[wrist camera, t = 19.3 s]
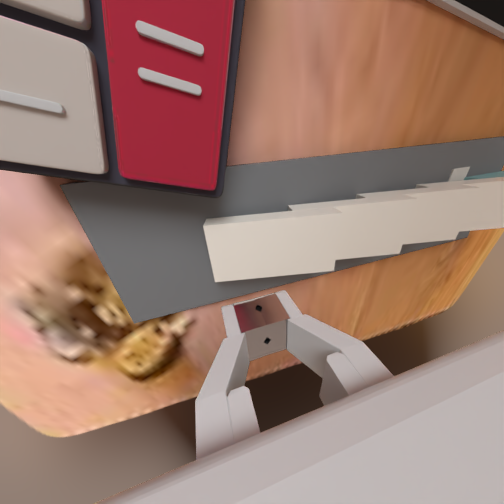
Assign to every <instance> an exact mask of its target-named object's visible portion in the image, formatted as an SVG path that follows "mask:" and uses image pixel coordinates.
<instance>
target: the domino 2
mask: <svg viewBox="0 0 504 504" xmlns="http://www.w3.org/2000/svg"><path fill="white" fill-rule="evenodd" d="M417 200H418V198H414V197H410V196H407V195H403V194H402V195H391V196H381V197H370V198H360V199H349V200H339V201H328V202H318V203H307V204H297V205H288V211H295V210H305V209H316V208H327V207H334V208H336V209H337V210H339V211H341V212H342V213H343V215H342V222H341V228H340V235H339V241H338V247H337V254H336V260H340V259H350V258H360V257H371V256H381V255H391V254H400V251H401V248H402V245H403V242H404V239H405V236H406V233H407V230H408V227H409V224H410V221H411V218H412V215H413V212H414V209H415V206H416V203H417Z"/></svg>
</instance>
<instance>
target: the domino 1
mask: <svg viewBox="0 0 504 504" xmlns="http://www.w3.org/2000/svg"><path fill="white" fill-rule="evenodd" d="M342 215H343V213H342V212H341V211H339V210H337V209H336V208H334V207H327V208H316V209H305V210H295V211H284V212H273V213H262V214H251V215H241V216H230V217H219V218H208V219H206V221H205V223H204V225H203V228H204V233H205V238H206V242H207V247H208V252H209V256H210V261H211V266H212V270H213V275H214V280H215V282H223V281H234V280H244V279H254V278H265V277H275V276H286V275H296V274H306V273H317V272H327V271H334V267H335V260H336V254H337V247H338V241H339V235H340V228H341V222H342Z"/></svg>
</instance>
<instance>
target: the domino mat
mask: <svg viewBox="0 0 504 504" xmlns="http://www.w3.org/2000/svg"><path fill="white" fill-rule="evenodd" d="M503 165H504V136H503V137H494V138H485V139H475V140H466V141H457V142H447V143H438V144H429V145H420V146H410V147H401V148H392V149H382V150H373V151H364V152H355V153H345V154H336V155H327V156H317V157H308V158H299V159H290V160H280V161H271V162H262V163H252V164H243V165H234V166H226V172H225V180H224V189H223V194H222V195H221V196H220V197H219V198H209V197H201V196H194V195H186V194H179V193H171V192H164V191H156V190H149V189H141V188H134V187H126V186H119V185H111V184H104V183H97V182H89V181H85V182H76V183H67V184H63V185H60V187H61V189H62V190H63V192H64V194H65V196H66V198H67V200H68V202H69V203H70V205H71V207H72V209H73V211H74V213H75V214H76V216H77V218H78V220H79V222H80V224H81V226H82V227H83V229H84V231H85V233H86V235H87V237H88V239H89V240H90V242H91V244H92V246H93V248H94V250H95V251H96V253H97V255H98V257H99V259H100V261H101V263H102V264H103V266H104V268H105V270H106V272H107V274H108V276H109V277H110V279H111V281H112V283H113V285H114V287H115V288H116V290H117V292H118V294H119V296H120V298H121V300H122V301H123V303H124V305H125V307H126V309H127V311H128V313H129V314H130V316H131V318H132V320H133V322H134V323H137V322H141V321H145V320H149V319H153V318H157V317H161V316H165V315H168V314H172V313H176V312H180V311H184V310H188V309H192V308H196V307H199V306H203V305H207V304H211V303H215V302H219V301H223V300H227V299H230V298H234V297H238V296H242V295H246V294H250V293H254V292H258V291H261V290H265V289H269V288H273V287H277V286H281V285H285V284H289V283H292V282H296V281H300V280H304V279H308V278H312V277H316V276H320V275H323V274H327V273H331V272H335V271H339V270H343V269H347V268H351V267H354V266H358V265H362V264H366V263H370V262H374V261H378V260H382V259H385V258H389V257H393V256H397V255H401V254H405V253H409V252H413V251H416V250H420V249H424V248H428V247H432V246H436V245H440V244H444V243H447V242H451V241H455V240H459V239H463V238H467V236H468V234H469V232H470V231H461V232H459V233H458V235H457V237H456V239H455V240H444V241H434V242H424V243H413V244H403V245H402V248H401V251H400V254H391V255H381V256H371V257H360V258H350V259H340V260H335V267H334V271H327V272H317V273H306V274H296V275H286V276H275V277H265V278H254V279H244V280H234V281H223V282H215V280H214V275H213V270H212V266H211V261H210V256H209V252H208V247H207V242H206V238H205V233H204V228H203V225H204V223H205V221H206V219H208V218H219V217H230V216H241V215H251V214H262V213H273V212H284V211H288V205H297V204H307V203H318V202H328V201H339V200H349V199H356V194H363V193H373V192H384V191H395V190H406V189H415V187H416V184H427V183H438V182H450V181H461V180H464V178H465V177H470V176H476V175H482V174H488V173H493V172H499V171H501V169H502V167H503Z"/></svg>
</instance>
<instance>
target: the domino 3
mask: <svg viewBox="0 0 504 504" xmlns="http://www.w3.org/2000/svg"><path fill="white" fill-rule="evenodd" d="M479 189H480V187H475V186H469V185H462V184H460V185H449V186H438V187H427V188H417V189H406V190H395V191H384V192H373V193H363V194H356V199H360V198H370V197H381V196H391V195H402V194H403V195H407V196H410V197H414V198H418V200H417V203H416V206H415V209H414V212H413V215H412V218H411V221H410V224H409V227H408V230H407V233H406V236H405V239H404V242H403V244H413V243H424V242H434V241H444V240H455V239H456V237H457V235H458V233H459V231H460V228H461V226H462V224H463V222H464V220H465V218H466V216H467V214H468V212H469V210H470V208H471V206H472V203H473V201H474V199H475V197H476V195H477V193H478V191H479Z"/></svg>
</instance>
